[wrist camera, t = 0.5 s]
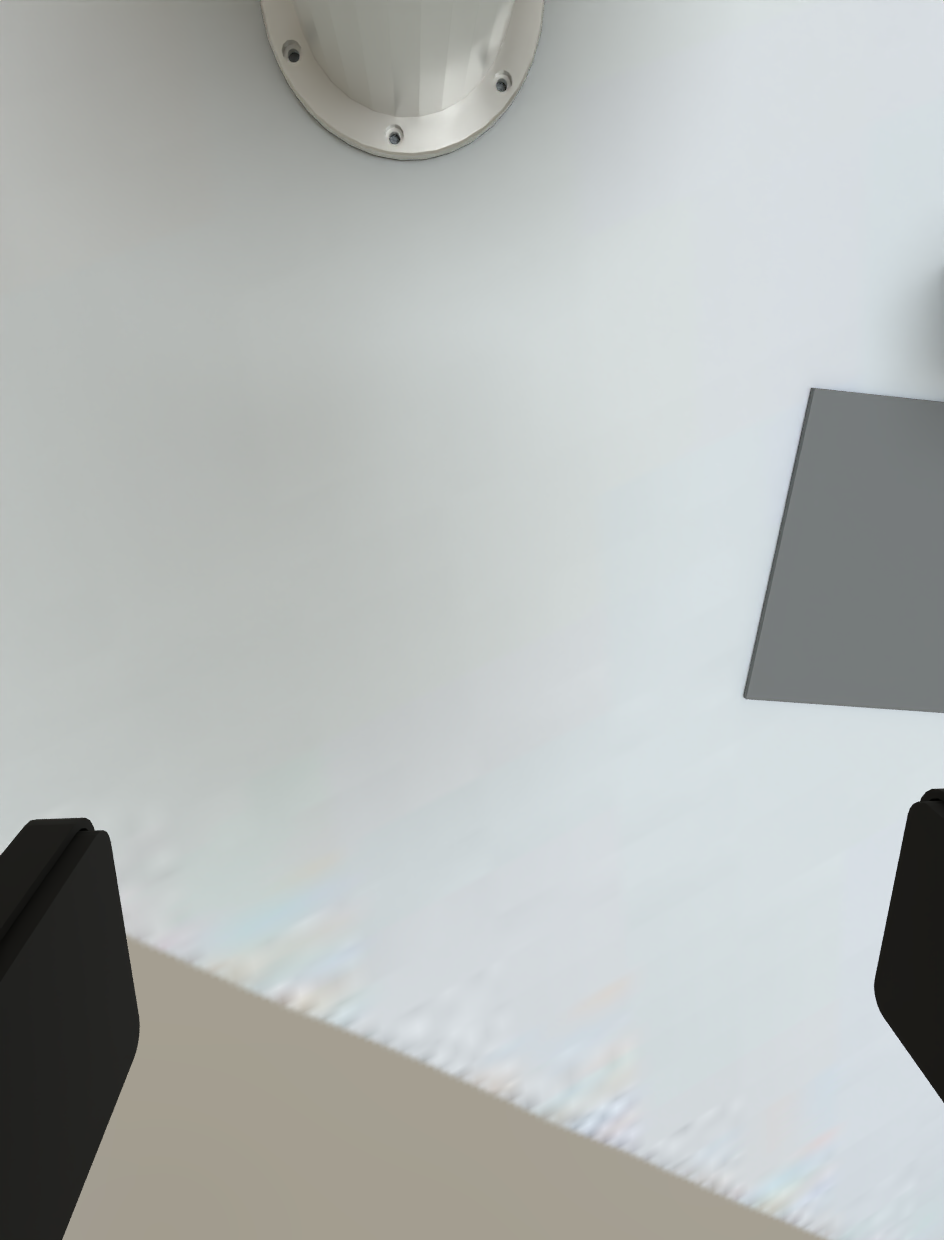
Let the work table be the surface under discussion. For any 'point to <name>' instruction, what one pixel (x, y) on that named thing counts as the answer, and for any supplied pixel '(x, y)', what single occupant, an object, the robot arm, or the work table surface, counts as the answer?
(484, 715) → the work table surface
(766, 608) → the rubber mat
